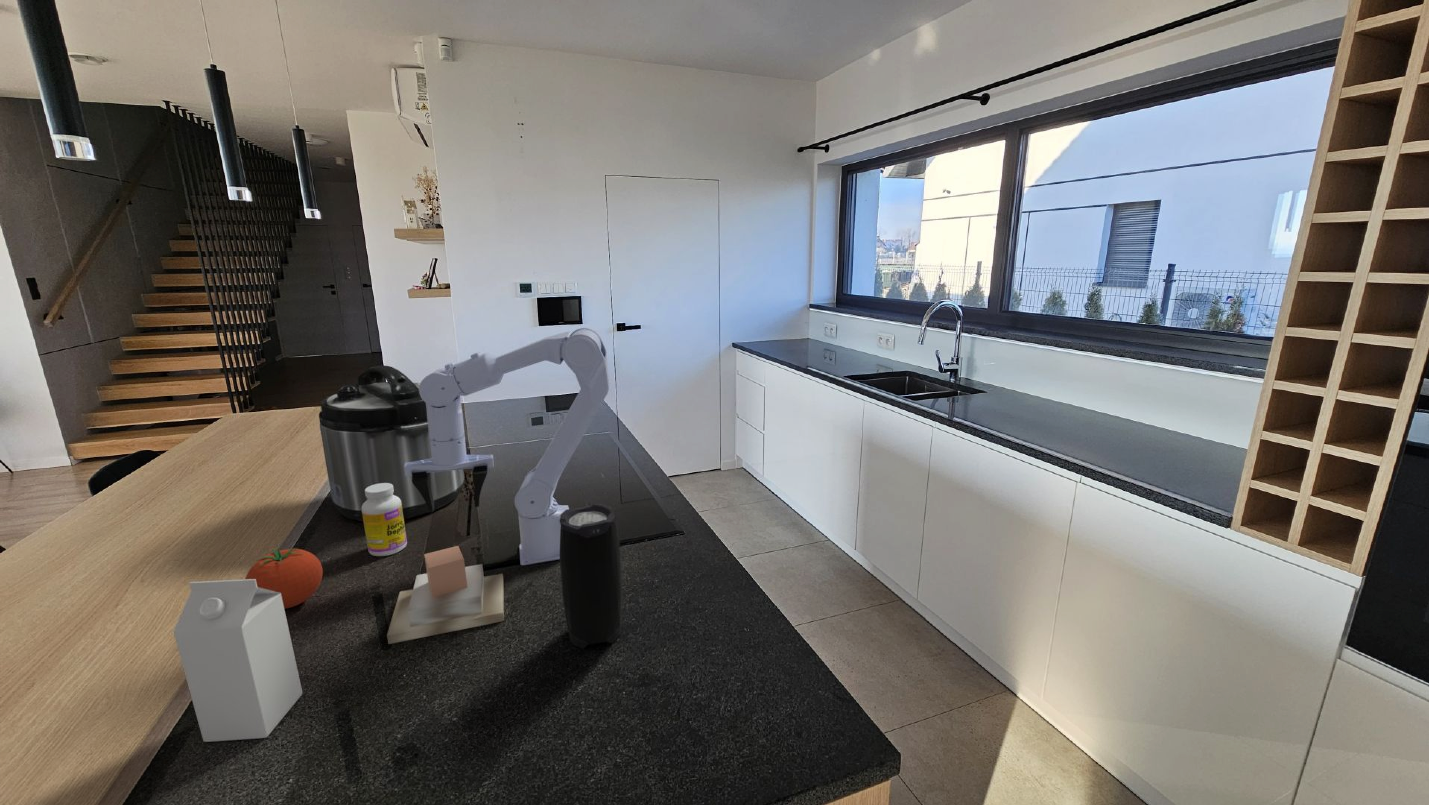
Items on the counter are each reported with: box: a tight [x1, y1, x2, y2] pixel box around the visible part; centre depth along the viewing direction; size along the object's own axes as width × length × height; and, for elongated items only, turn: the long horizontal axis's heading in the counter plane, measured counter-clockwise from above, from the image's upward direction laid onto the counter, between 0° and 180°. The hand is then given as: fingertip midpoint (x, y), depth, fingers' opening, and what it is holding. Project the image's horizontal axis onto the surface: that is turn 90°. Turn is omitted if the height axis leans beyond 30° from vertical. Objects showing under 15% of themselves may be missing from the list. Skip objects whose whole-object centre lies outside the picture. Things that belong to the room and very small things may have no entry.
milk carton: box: [173, 578, 303, 743], centre depth 69 cm, size 7×7×19 cm
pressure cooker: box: [318, 365, 470, 522], centre depth 131 cm, size 30×28×32 cm
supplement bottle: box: [362, 483, 408, 557], centre depth 111 cm, size 7×7×13 cm
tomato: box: [244, 547, 324, 610], centre depth 93 cm, size 10×10×10 cm
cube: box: [423, 545, 467, 597], centre depth 91 cm, size 5×5×5 cm
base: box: [386, 563, 505, 645], centre depth 92 cm, size 16×12×4 cm
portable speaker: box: [559, 502, 623, 650], centre depth 84 cm, size 9×9×20 cm
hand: (454, 507), depth 106 cm, fingers open, 7 cm apart
